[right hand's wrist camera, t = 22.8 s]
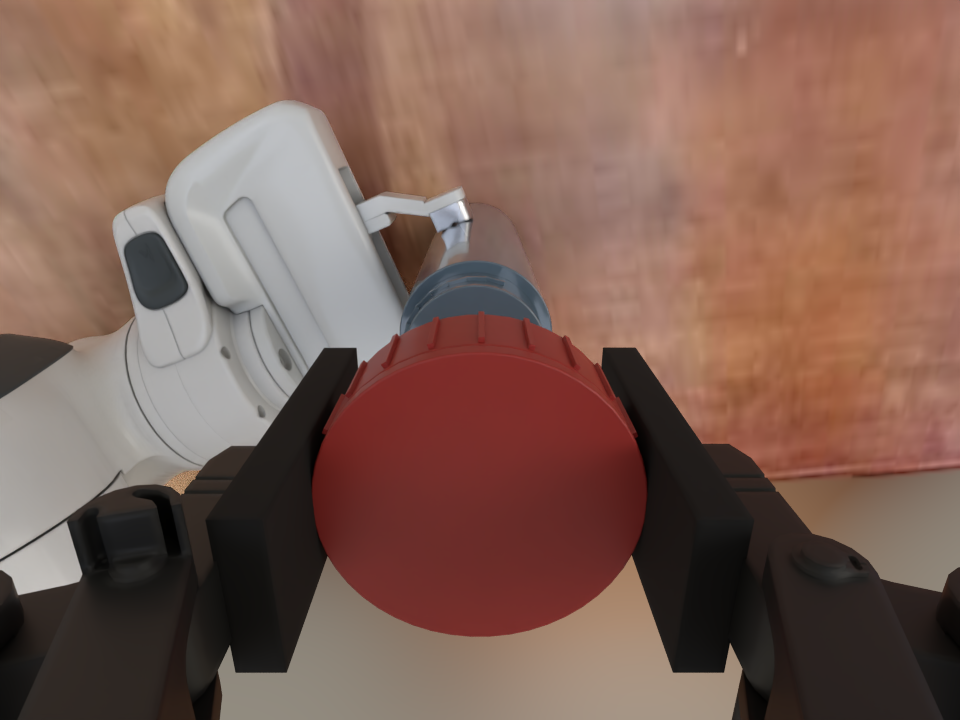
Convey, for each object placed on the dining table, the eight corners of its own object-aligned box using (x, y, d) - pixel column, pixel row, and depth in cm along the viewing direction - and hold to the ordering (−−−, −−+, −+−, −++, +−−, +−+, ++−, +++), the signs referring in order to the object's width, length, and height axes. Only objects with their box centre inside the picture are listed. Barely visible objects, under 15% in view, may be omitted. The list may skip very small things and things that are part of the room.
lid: (686, 412, 12) (725, 466, 10) (515, 607, 14) (521, 684, 12) (433, 248, 11) (422, 274, 9) (283, 485, 13) (248, 550, 11)
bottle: (416, 231, 35) (359, 326, 18) (492, 185, 34) (508, 240, 17) (461, 304, 36) (447, 455, 19) (534, 263, 36) (587, 383, 19)
